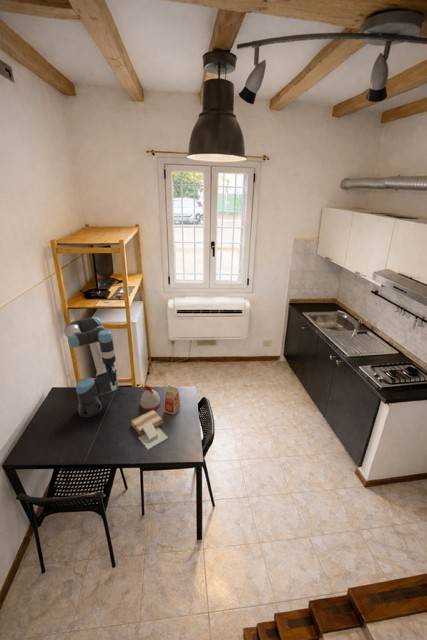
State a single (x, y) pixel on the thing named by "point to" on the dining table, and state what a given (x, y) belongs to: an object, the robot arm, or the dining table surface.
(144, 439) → the mat
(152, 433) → the white flat block
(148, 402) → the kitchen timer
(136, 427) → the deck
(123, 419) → the dining table surface
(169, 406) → the milk carton
